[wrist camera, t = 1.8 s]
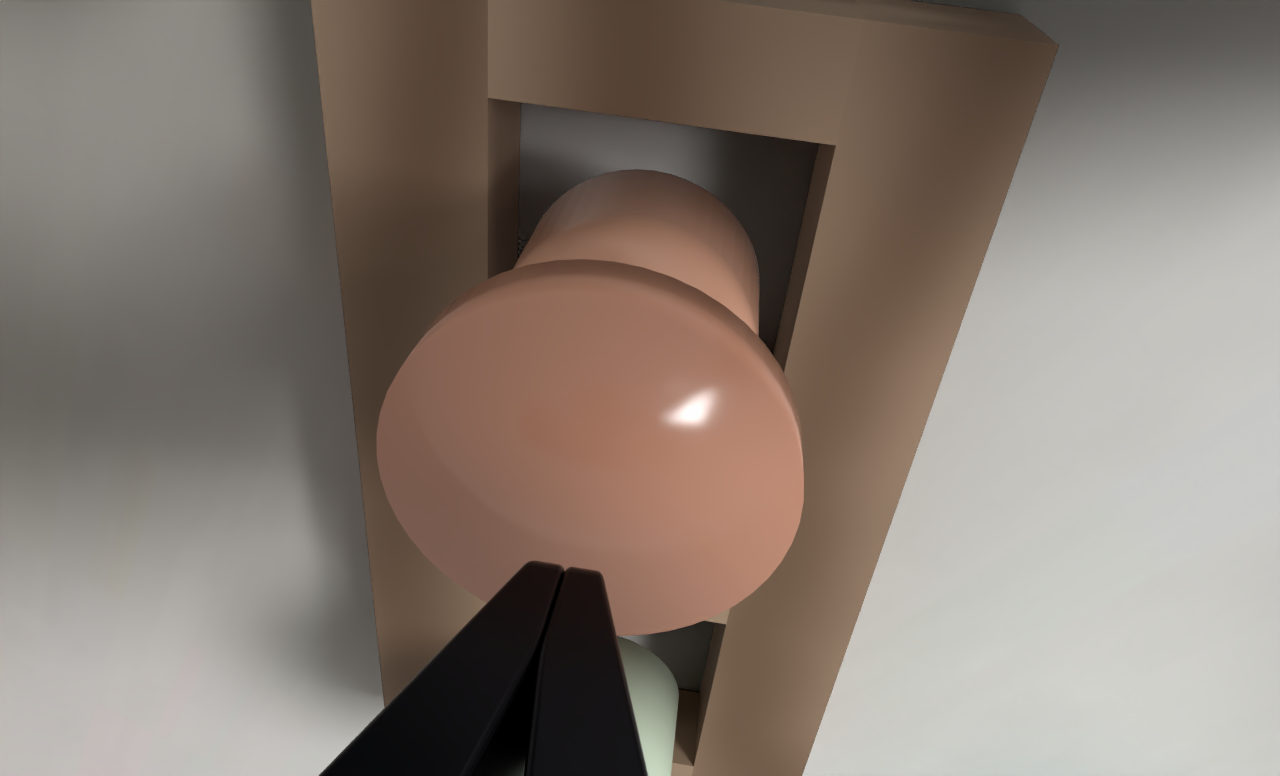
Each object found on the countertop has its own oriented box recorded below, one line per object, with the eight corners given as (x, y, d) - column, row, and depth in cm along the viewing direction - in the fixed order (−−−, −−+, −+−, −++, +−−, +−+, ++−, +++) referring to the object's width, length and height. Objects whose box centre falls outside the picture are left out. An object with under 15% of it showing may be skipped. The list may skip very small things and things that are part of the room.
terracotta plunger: (822, 159, 15) (851, 335, 10) (762, 425, 18) (761, 663, 13) (496, 114, 15) (359, 263, 10) (494, 384, 18) (389, 601, 13)
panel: (1020, 14, 15) (1059, 45, 13) (784, 747, 28) (785, 822, 26) (364, -70, 16) (305, -54, 14) (417, 685, 28) (389, 754, 26)
